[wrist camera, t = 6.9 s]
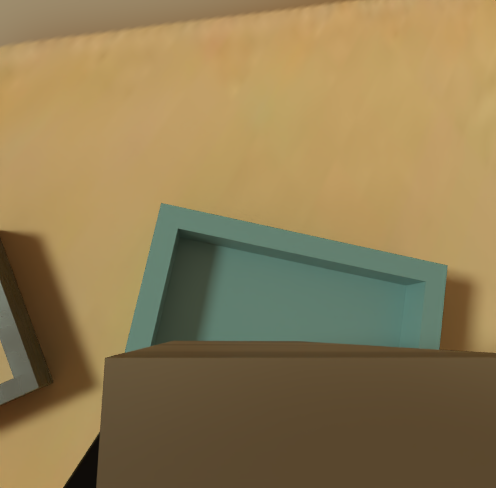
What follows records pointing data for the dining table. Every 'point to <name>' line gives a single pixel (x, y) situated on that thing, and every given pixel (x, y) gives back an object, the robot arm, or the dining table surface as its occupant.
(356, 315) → the tray
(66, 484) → the robot arm
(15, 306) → the grey square bin
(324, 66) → the dining table surface
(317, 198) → the dining table surface
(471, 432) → the plate
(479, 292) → the dining table surface
